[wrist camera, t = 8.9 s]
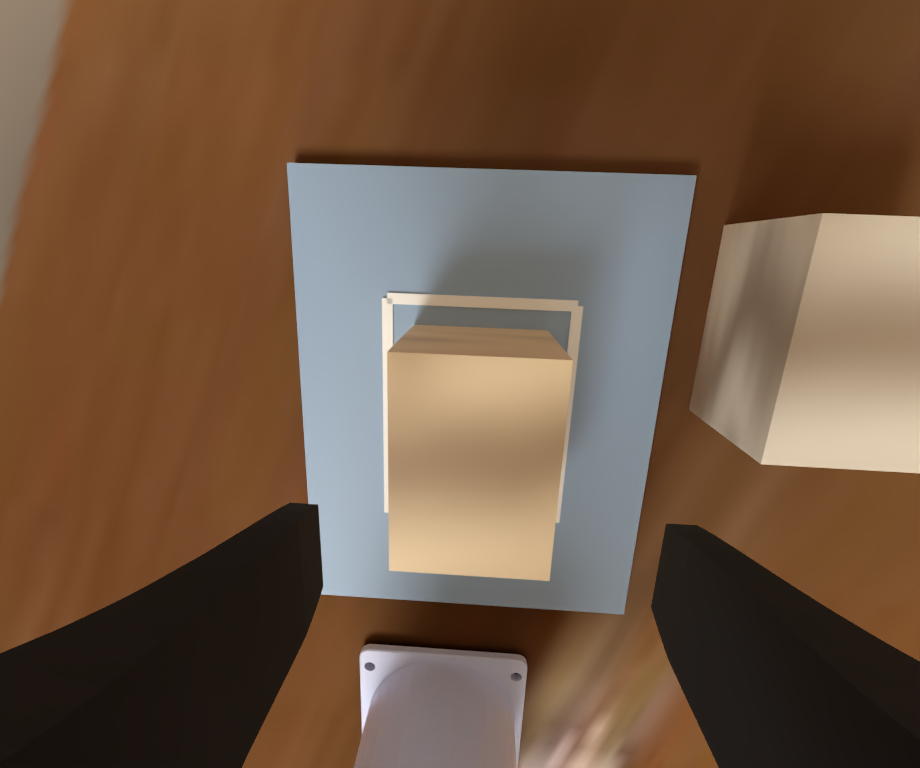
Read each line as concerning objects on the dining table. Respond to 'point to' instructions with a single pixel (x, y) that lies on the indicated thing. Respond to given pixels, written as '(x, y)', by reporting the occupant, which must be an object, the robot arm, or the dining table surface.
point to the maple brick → (475, 450)
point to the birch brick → (816, 342)
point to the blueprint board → (487, 306)
